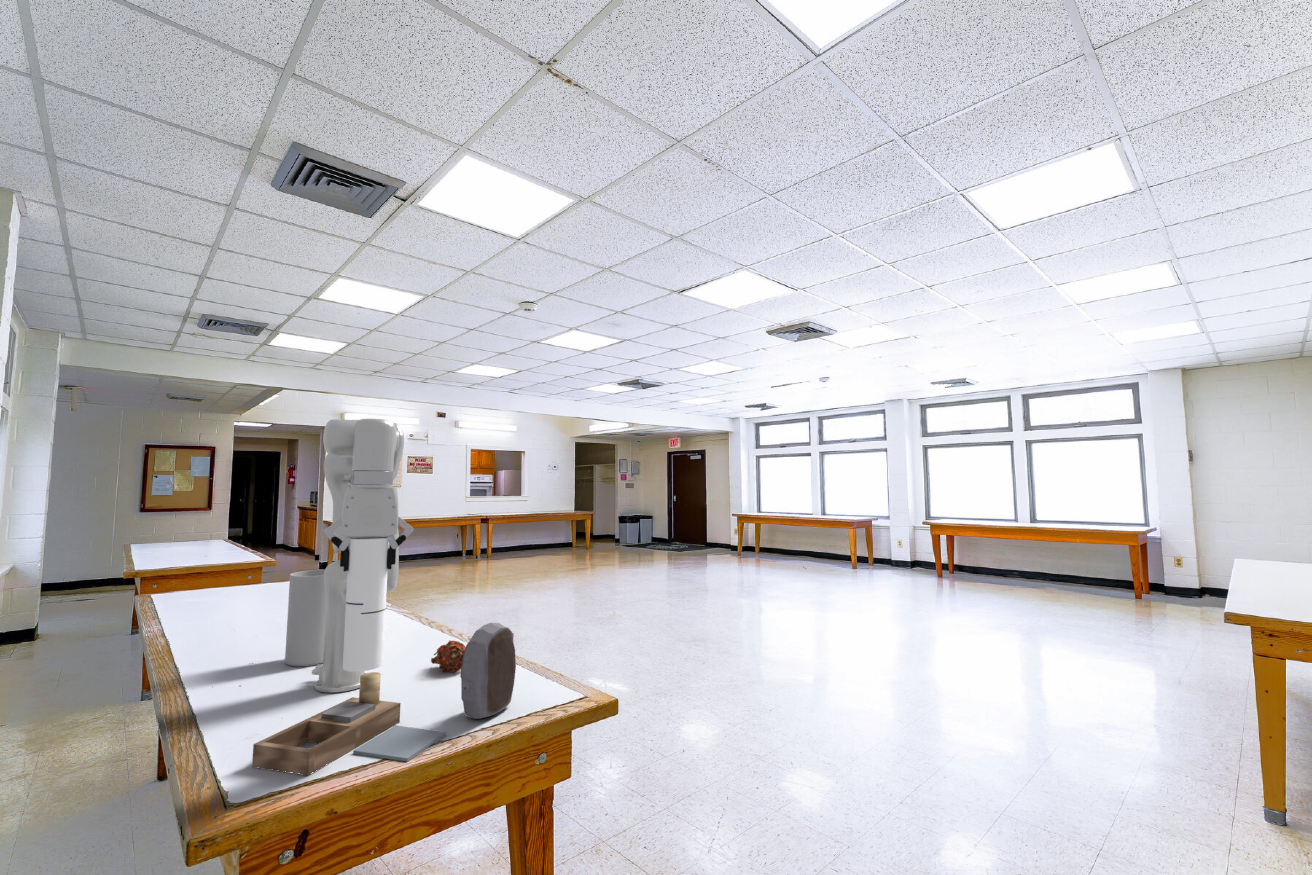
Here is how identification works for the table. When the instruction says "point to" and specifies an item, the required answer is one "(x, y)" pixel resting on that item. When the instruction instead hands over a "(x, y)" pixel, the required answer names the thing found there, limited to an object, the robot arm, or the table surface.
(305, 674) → the table surface
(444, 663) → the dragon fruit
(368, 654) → the cylindrical container
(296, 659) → the cylinder vase
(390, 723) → the wooden divided tray
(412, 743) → the mat
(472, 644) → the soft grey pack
